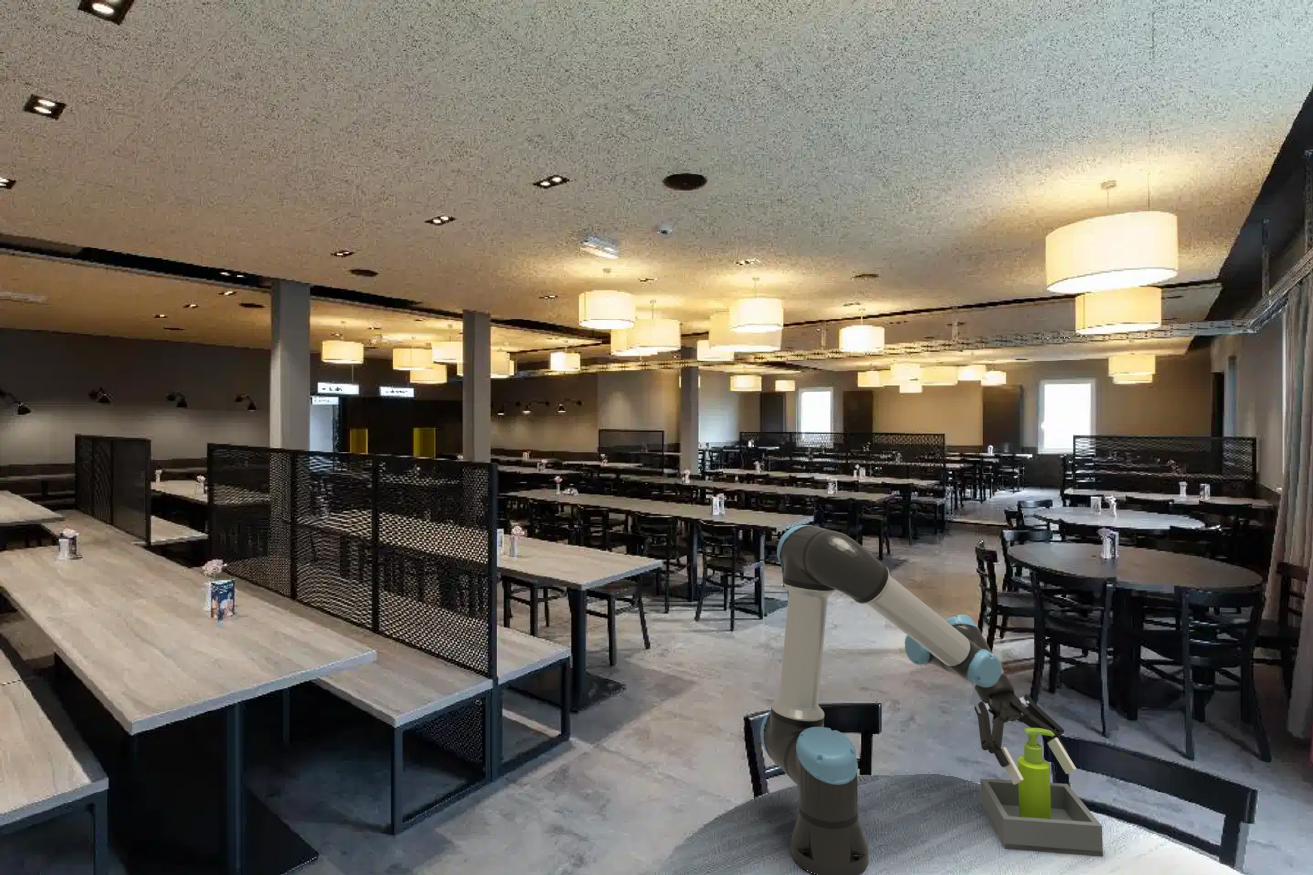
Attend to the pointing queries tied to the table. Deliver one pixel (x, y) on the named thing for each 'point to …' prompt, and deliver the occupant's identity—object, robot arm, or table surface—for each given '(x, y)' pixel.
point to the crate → (1042, 821)
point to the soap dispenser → (1034, 778)
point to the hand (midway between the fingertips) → (1045, 776)
